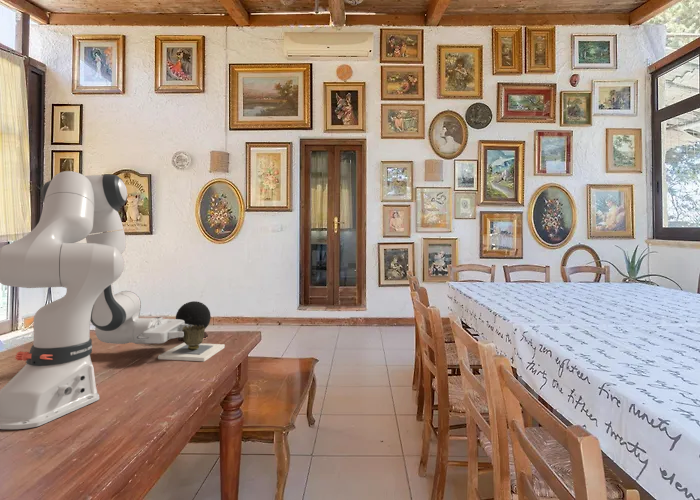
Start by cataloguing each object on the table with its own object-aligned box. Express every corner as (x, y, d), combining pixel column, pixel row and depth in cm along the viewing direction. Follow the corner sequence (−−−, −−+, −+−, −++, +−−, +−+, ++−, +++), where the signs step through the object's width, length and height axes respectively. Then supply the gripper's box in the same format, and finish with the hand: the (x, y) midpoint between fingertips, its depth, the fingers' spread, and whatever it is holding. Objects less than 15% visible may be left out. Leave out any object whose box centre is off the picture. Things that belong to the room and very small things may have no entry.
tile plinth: (204, 361, 122) (204, 356, 122) (158, 359, 124) (158, 354, 124) (224, 347, 138) (224, 343, 138) (183, 345, 140) (183, 341, 140)
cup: (204, 351, 128) (204, 328, 128) (181, 353, 126) (181, 329, 125) (204, 345, 135) (205, 323, 135) (182, 347, 133) (183, 325, 132)
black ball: (175, 335, 154) (175, 299, 154) (209, 332, 159) (209, 298, 159) (175, 343, 142) (175, 305, 142) (211, 340, 148) (212, 303, 147)
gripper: (133, 328, 119) (178, 328, 120) (160, 316, 139) (198, 316, 141) (133, 348, 119) (177, 348, 120) (160, 332, 139) (197, 332, 141)
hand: (188, 330), depth 131 cm, fingers open, 8 cm apart
